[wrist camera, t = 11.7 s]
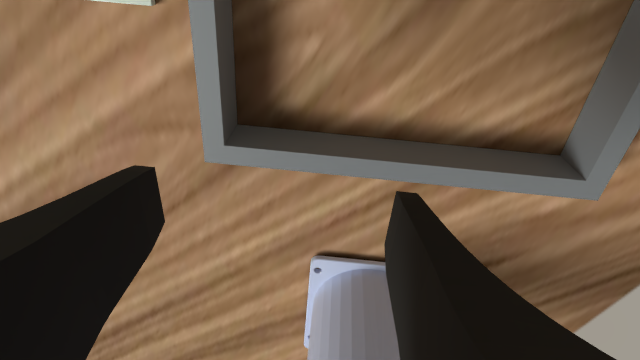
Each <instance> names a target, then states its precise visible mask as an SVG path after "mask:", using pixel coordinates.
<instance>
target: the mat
mask: <svg viewBox="0 0 640 360" xmlns="http://www.w3.org/2000/svg"><path fill="white" fill-rule="evenodd" d="M93 1H104V2H115V3H126V4H136V5H147V6H153V5H155V0H93Z"/></svg>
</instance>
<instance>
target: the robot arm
mask: <svg viewBox="0 0 640 360" xmlns="http://www.w3.org/2000/svg"><path fill="white" fill-rule="evenodd" d="M164 223H165V219H164V214H163V209H162V203H161V198H160V193H159V188H158V182H157V177H156V172H155V167H146V166H136V165H134V166H131V167H129V168H126V169H123V170H121V171H119V172H116V173H114V174H112V175H110V176H108V177H105V178H103V179H101V180H99V181H97V182H95V183H93V184H90V185H88V186H86V187H84V188H82V189H80V190H78V191H75V192H73V193H71V194H69V195H67V196H65V197H62V198H60V199H58V200H55V201H53V202H51V203H48V204H46V205H44V206H41V207H39V208H37V209H34V210H32V211H30V212H27V213H25V214H22V215H20V216H17V217H15V218H12V219H9V220H7V221H4V222H1V223H0V360H86V358H87V356H88V354H89V352H90V350H91V348H92V346H93V345H94V343H95V341H96V339H97V337H98V335H99V333H100V331H101V329H102V327H103V325H104V324H105V322H106V320H107V319H108V317H109V315H110V314H111V312H112V311H113V309H114V308H115V306H116V305H117V303H118V301H119V300H120V298H121V297H122V295H123V294H124V292H125V291H126V289H127V288H128V286H129V285H130V283H131V282H132V280H133V279H134V277H135V276H136V274H137V273H138V271H139V269H140V268H141V266H142V265H143V263H144V262H145V260H146V259H147V257H148V255H149V254H150V252H151V251H152V249H153V247H154V245H155V243H156V241H157V238H158V236H159V234H160V232H161V230H162V227H163V225H164ZM316 268H320V269H316ZM304 346H305V347H306V348H308V358H307V360H616V359H614V358H613V357H611V356H609V355H607V354H606V353H604V352H602V351H600V350H599V349H597V348H596V347H594V346H593V345H591V344H589V343H588V342H586V341H585V340H583V339H581V338H580V337H578V336H577V335H575V334H573V333H572V332H570V331H569V330H567V329H566V328H564V327H563V326H561V325H560V324H558V323H557V322H555V321H554V320H552V319H551V318H549V317H548V316H547V315H545V314H544V313H542V312H541V311H540V310H538V309H537V308H536V307H534V306H533V305H531V304H530V303H529V302H527V301H526V300H525V299H523V298H522V297H521V296H519V295H518V294H517V293H516V292H514V291H513V290H512V289H510V288H509V287H508V286H507V285H506V284H505V283H503V282H502V281H501V280H500V279H499V278H497V277H496V276H495V275H494V274H493V273H491V272H490V271H489V270H488V269H487V268H486V267H485V266H484V265H483V264H481V263H480V262H479V261H478V260H477V259H476V258H475V257H474V256H473V255H472V254H471V253H470V252H469V251H468V250H467V249H466V248H465V247H464V246H463V245H462V244H461V243H460V242H459V241H458V240H457V239H456V237H455V236H454V235H453V234H452V233H451V232H450V231H449V230H448V229H447V228H446V226H445V225H444V224H443V223H442V222H441V221H440V220H439V218H438V217H437V216H436V215H435V214H434V213H433V211H432V210H431V209H430V208H429V207H428V205H427V204H426V203H425V202H424V201H423V199H422V198H421V197H420V196H419V195H418V194H417V193H409V192H399V191H396V195H395V200H394V204H393V209H392V213H391V218H390V222H389V227H388V231H387V236H386V240H385V262H378V261H368V260H358V259H349V258H339V257H329V256H314V257H313V258H312V259H311V265H310V277H309V289H308V301H307V313H306V325H305V337H304Z"/></svg>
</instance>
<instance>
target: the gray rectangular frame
mask: <svg viewBox="0 0 640 360" xmlns="http://www.w3.org/2000/svg"><path fill="white" fill-rule="evenodd" d="M188 4H189V14H190V23H191V33H192V42H193V52H194V62H195V71H196V81H197V91H198V100H199V110H200V119H201V129H202V139H203V148H204V158H205V162H211V163H221V164H231V165H241V166H251V167H262V168H272V169H282V170H292V171H302V172H312V173H323V174H333V175H343V176H353V177H363V178H373V179H384V180H394V181H404V182H414V183H424V184H435V185H445V186H455V187H465V188H475V189H485V190H496V191H506V192H516V193H526V194H536V195H546V196H557V197H567V198H577V199H587V200H597V201H598V199H599V197H600V196H601V194H602V192H603V191H604V189H605V187H606V185H607V184H608V182H609V180H610V178H611V177H612V175H613V173H614V172H615V170H616V168H617V166H618V165H619V163H620V161H621V159H622V158H623V156H624V154H625V153H626V151H627V149H628V147H629V146H630V144H631V142H632V141H633V139H634V137H635V135H636V134H637V132H638V130H639V128H640V0H634V1H633V3H632V6H631V8H630V10H629V12H628V14H627V16H626V18H625V20H624V22H623V24H622V27H621V29H620V31H619V33H618V35H617V37H616V39H615V41H614V43H613V46H612V48H611V50H610V52H609V54H608V56H607V58H606V60H605V62H604V64H603V67H602V69H601V71H600V73H599V75H598V77H597V79H596V81H595V83H594V85H593V88H592V90H591V92H590V94H589V96H588V98H587V100H586V102H585V104H584V106H583V109H582V111H581V113H580V115H579V117H578V119H577V121H576V123H575V125H574V127H573V130H572V132H571V134H570V136H569V138H568V140H567V142H566V144H565V146H564V148H563V151H562V153H561V155H560V156H559V155H548V154H538V153H528V152H517V151H507V150H497V149H486V148H476V147H466V146H455V145H445V144H434V143H424V142H414V141H403V140H393V139H383V138H372V137H362V136H352V135H341V134H331V133H320V132H310V131H300V130H289V129H279V128H269V127H258V126H248V125H238V124H237V104H236V83H235V62H234V41H233V20H232V0H188Z"/></svg>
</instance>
